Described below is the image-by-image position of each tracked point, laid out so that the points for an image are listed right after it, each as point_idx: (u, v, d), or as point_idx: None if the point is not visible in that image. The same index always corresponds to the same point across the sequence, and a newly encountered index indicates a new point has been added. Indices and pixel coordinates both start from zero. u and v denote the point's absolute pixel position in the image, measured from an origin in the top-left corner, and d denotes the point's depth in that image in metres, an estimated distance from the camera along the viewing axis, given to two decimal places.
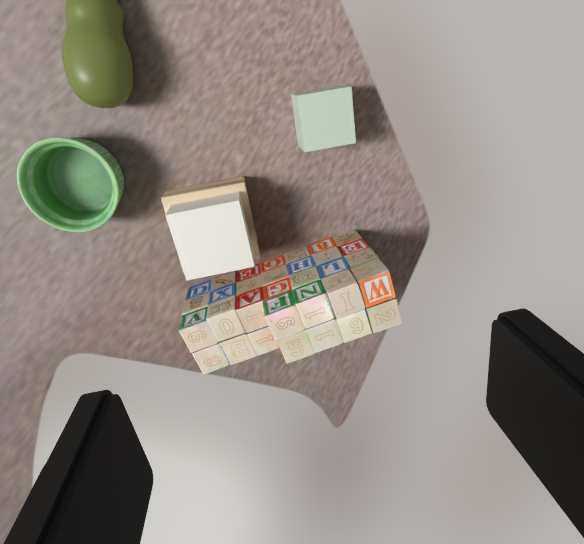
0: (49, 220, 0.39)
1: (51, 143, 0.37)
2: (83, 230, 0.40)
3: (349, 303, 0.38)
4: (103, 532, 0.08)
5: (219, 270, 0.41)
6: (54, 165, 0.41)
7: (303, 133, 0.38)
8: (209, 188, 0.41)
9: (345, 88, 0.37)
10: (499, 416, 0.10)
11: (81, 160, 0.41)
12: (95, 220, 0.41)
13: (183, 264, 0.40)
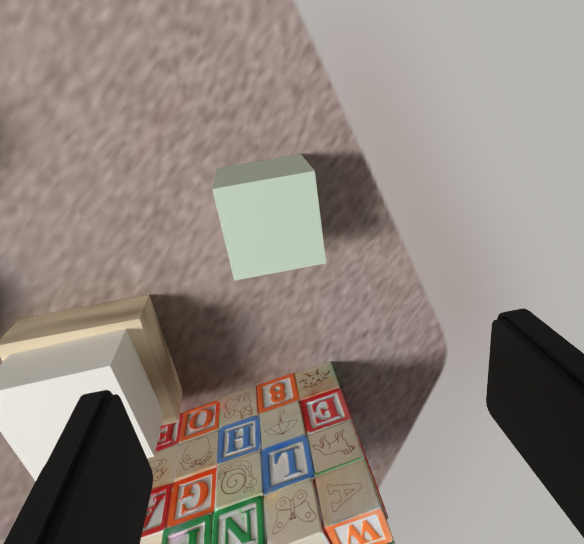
0: None
1: None
2: None
3: None
4: (103, 532, 0.08)
5: None
6: None
7: (229, 251, 0.21)
8: (80, 327, 0.24)
9: (303, 174, 0.20)
10: (499, 416, 0.10)
11: None
12: None
13: (26, 463, 0.23)
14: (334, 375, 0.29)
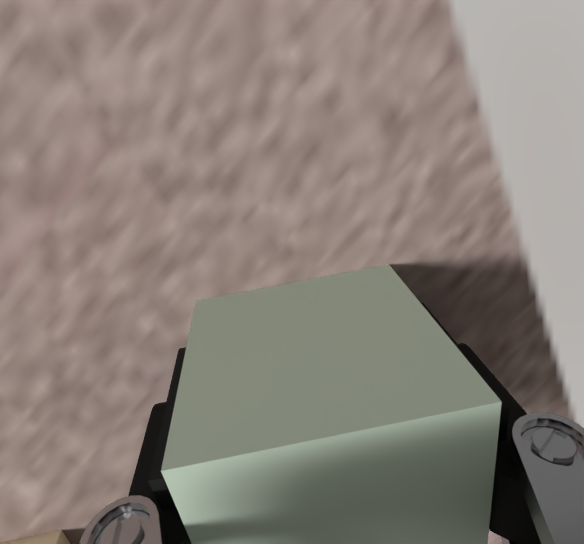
0: None
1: None
2: None
3: None
4: None
5: None
6: None
7: None
8: None
9: (464, 413, 0.06)
10: None
11: None
12: None
13: None
14: None
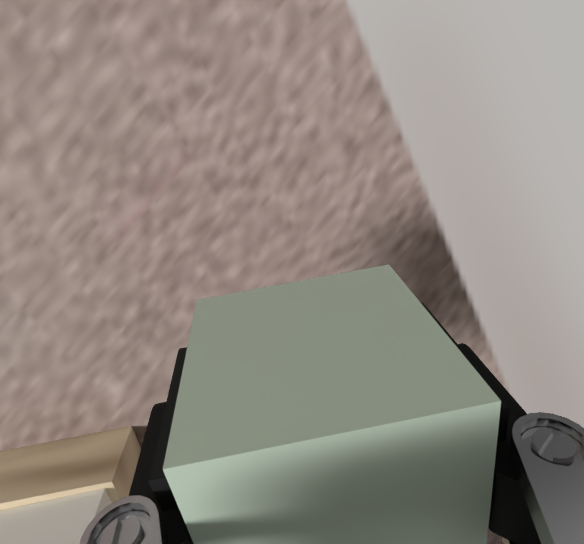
0: None
1: None
2: None
3: None
4: None
5: None
6: None
7: None
8: (26, 493, 0.17)
9: (464, 412, 0.06)
10: None
11: None
12: None
13: None
14: None
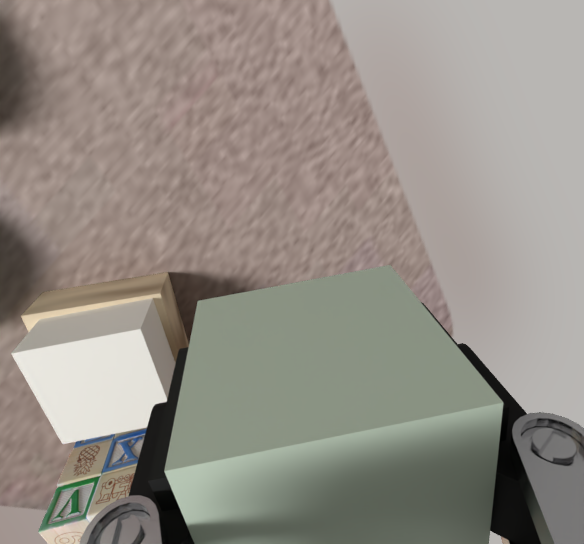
0: None
1: None
2: None
3: None
4: None
5: (117, 428, 0.25)
6: None
7: None
8: (103, 300, 0.25)
9: (466, 413, 0.06)
10: None
11: None
12: None
13: (54, 423, 0.24)
14: None
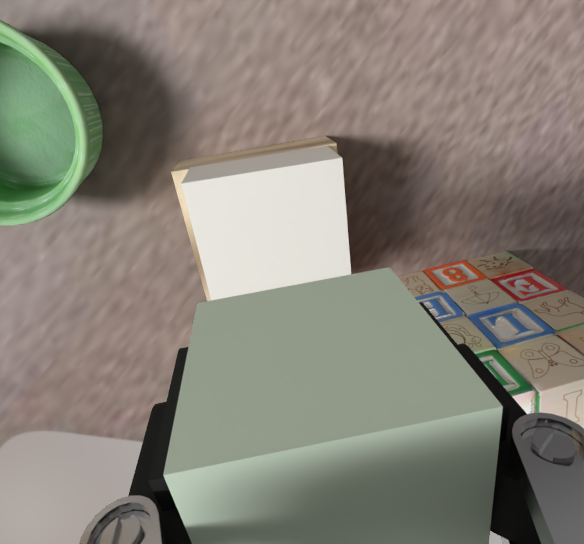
0: None
1: None
2: (16, 222, 0.19)
3: (573, 413, 0.18)
4: None
5: None
6: None
7: None
8: (267, 154, 0.21)
9: (465, 417, 0.06)
10: None
11: (14, 79, 0.20)
12: (42, 201, 0.20)
13: (212, 290, 0.20)
14: (520, 260, 0.27)
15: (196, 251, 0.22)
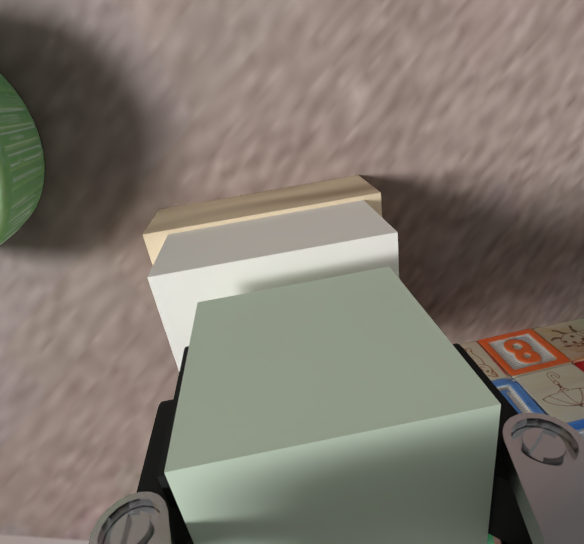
0: None
1: None
2: None
3: None
4: None
5: None
6: None
7: None
8: (281, 208, 0.15)
9: (463, 415, 0.06)
10: None
11: None
12: None
13: None
14: None
15: None
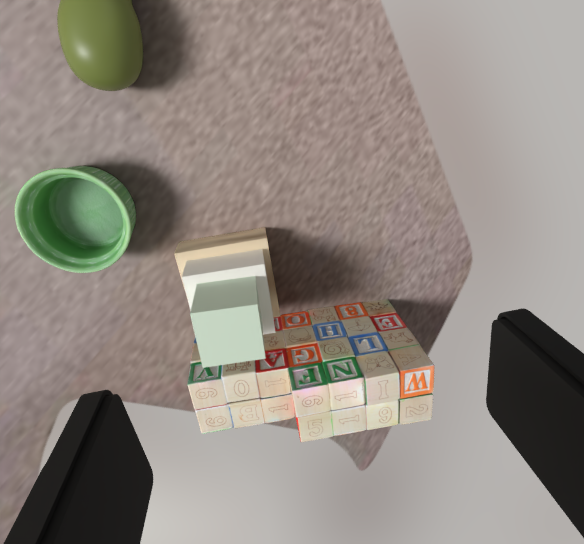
0: (51, 260, 0.35)
1: (54, 174, 0.32)
2: (90, 270, 0.35)
3: (384, 392, 0.35)
4: (103, 532, 0.08)
5: None
6: (57, 196, 0.36)
7: (200, 349, 0.31)
8: (228, 243, 0.37)
9: (250, 306, 0.30)
10: (499, 416, 0.10)
11: (88, 190, 0.36)
12: (103, 258, 0.36)
13: None
14: (391, 306, 0.44)
15: None
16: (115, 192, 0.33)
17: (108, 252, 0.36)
